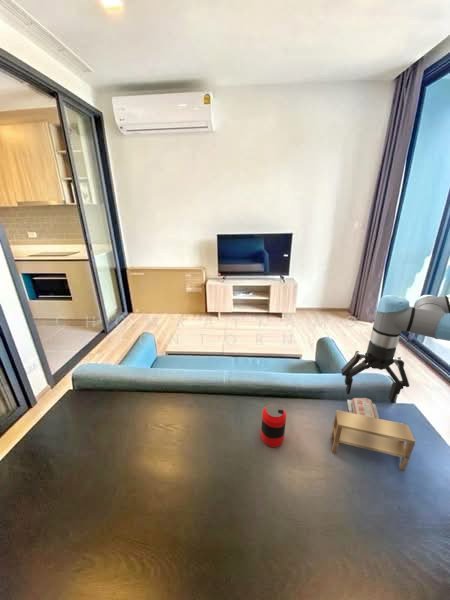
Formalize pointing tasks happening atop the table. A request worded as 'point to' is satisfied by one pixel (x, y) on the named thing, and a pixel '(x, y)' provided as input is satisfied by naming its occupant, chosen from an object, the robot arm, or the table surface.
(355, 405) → the packaged product
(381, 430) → the rack
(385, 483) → the table surface
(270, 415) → the soda can
